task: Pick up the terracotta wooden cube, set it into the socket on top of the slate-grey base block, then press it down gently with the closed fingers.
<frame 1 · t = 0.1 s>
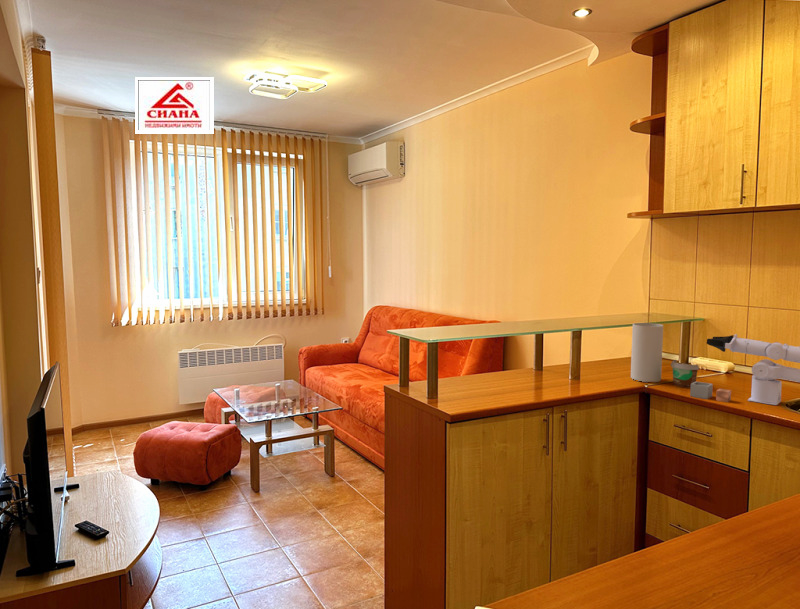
hand: (709, 340, 224), 22 cm above the table, tool horizontal, fingers open, 7 cm apart
cylinder vase: (645, 380, 250), on the table
socket base: (701, 396, 220), on the table
terracotta cube: (723, 400, 214), on the table
food container: (680, 386, 238), on the table
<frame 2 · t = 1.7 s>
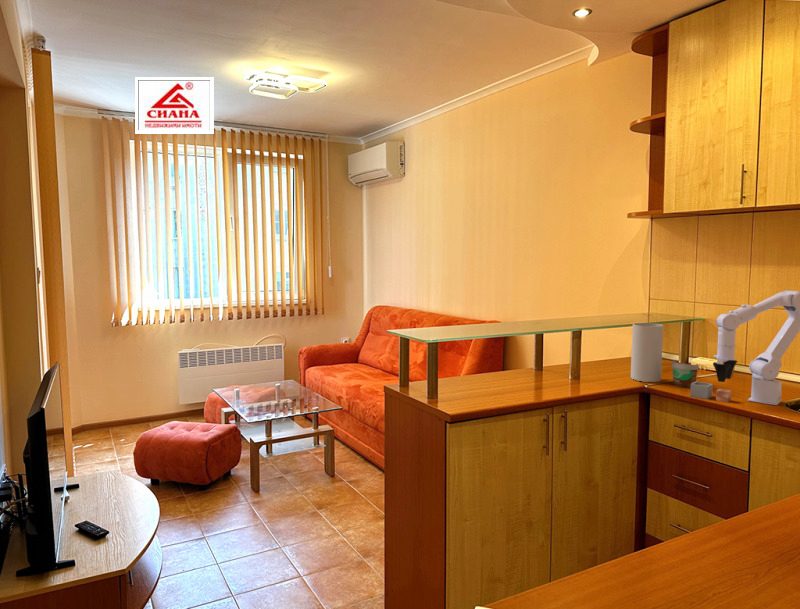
hand: (724, 380, 214), 8 cm above the table, tool pointing down, fingers open, 7 cm apart
nothing on the table moved.
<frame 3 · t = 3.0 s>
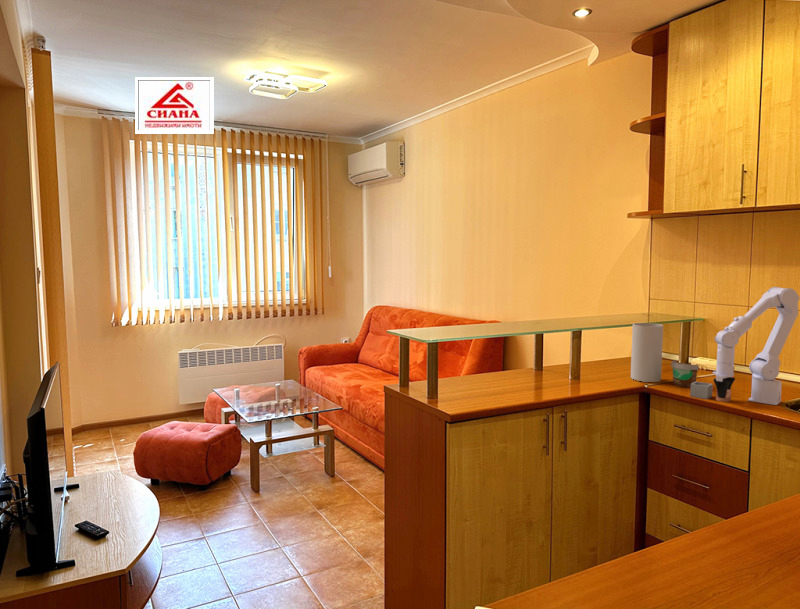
hand: (723, 396, 214), 1 cm above the table, tool pointing down, fingers closed on terracotta cube, 4 cm apart
terracotta cube: (723, 400, 214), on the table, touching gripper
everything else where it was.
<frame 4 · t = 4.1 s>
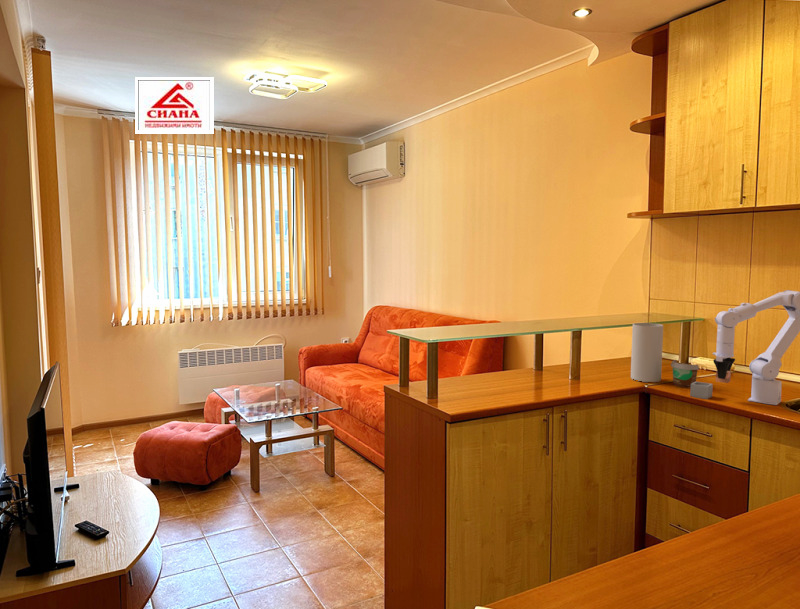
hand: (723, 377, 214), 9 cm above the table, tool pointing down, fingers closed on terracotta cube, 4 cm apart
terracotta cube: (722, 381, 214), point 7 cm above the table, touching gripper
everything else where it was.
when the fingers open (6 cm above the table, at t = 5.7 s): terracotta cube stays where it is, resting on socket base.
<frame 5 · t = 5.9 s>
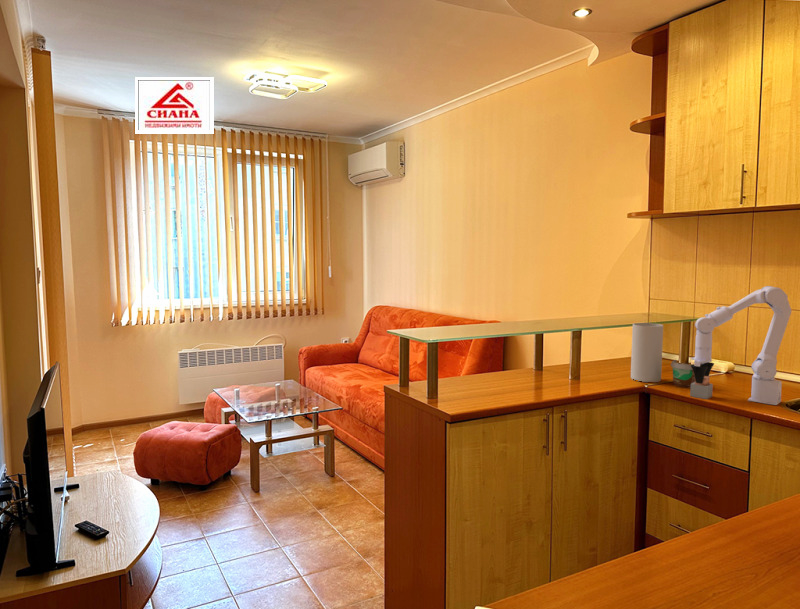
hand: (701, 381, 220), 6 cm above the table, tool pointing down, fingers open, 6 cm apart
terracotta cube: (701, 386, 220), point 4 cm above the table, touching socket base
everything else where it was.
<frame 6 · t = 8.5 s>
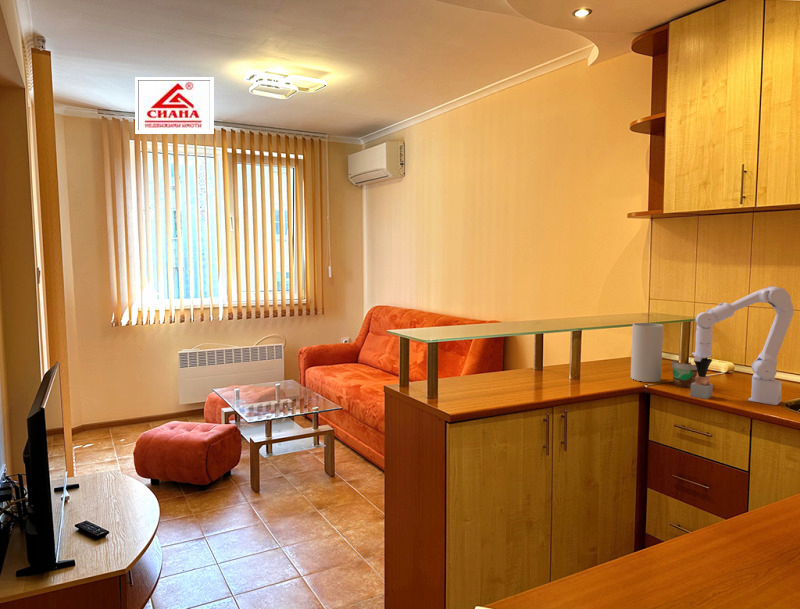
hand: (701, 376, 220), 8 cm above the table, tool pointing down, fingers closed, pressing on terracotta cube
terracotta cube: (701, 386, 220), point 4 cm above the table, touching gripper, socket base
everything else where it was.
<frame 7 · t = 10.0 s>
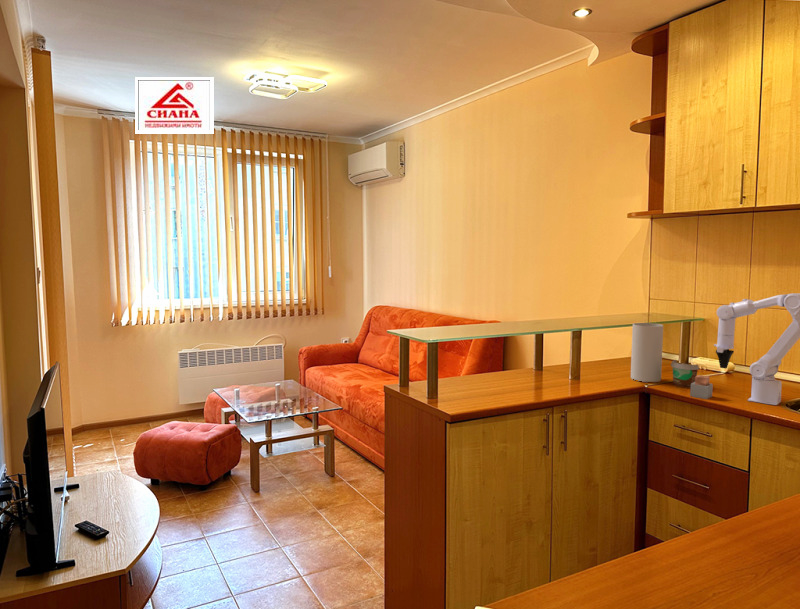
hand: (723, 367, 225), 10 cm above the table, tool pointing down, fingers closed
terracotta cube: (701, 386, 220), point 4 cm above the table, touching socket base
everything else where it was.
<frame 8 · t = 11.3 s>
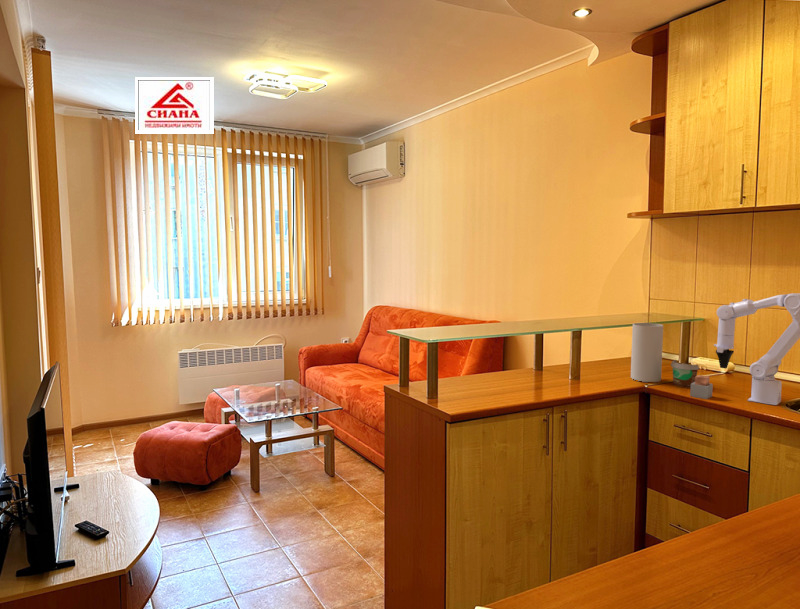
hand: (723, 367, 225), 10 cm above the table, tool pointing down, fingers closed
nothing on the table moved.
at the end: terracotta cube 0.1 cm off-centre on the socket base, point 4.0 cm above the socket base's base; terracotta cube tilted 0°; the gripper is holding nothing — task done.
